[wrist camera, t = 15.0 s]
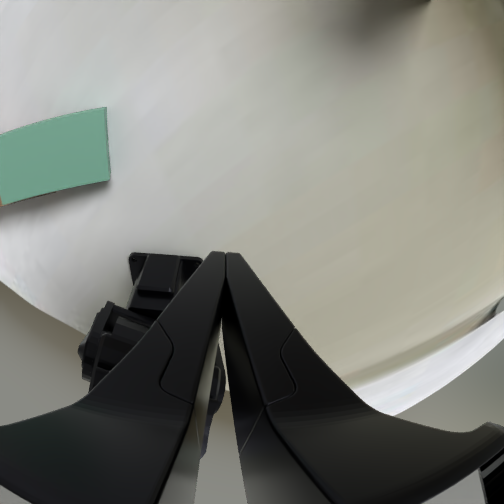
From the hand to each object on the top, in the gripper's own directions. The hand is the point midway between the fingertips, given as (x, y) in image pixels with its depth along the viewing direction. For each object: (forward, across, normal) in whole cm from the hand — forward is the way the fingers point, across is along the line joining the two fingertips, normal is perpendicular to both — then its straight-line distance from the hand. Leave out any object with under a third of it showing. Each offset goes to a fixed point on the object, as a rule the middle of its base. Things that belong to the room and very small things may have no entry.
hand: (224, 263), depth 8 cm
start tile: (+11, +8, -1) cm, 14 cm away
